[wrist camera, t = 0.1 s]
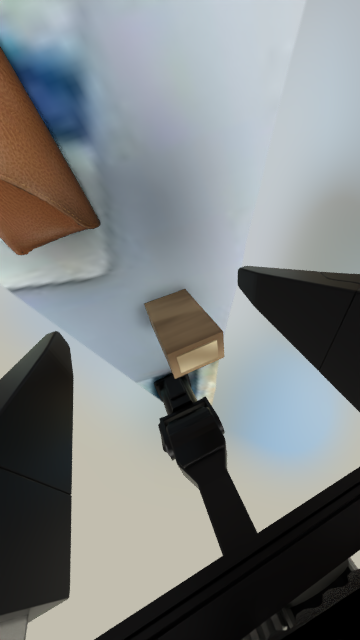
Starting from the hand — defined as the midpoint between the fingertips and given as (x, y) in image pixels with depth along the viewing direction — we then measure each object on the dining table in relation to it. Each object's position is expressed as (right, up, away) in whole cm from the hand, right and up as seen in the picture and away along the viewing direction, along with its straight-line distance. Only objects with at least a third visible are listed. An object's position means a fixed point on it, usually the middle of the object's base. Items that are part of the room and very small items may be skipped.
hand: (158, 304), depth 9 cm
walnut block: (-1, +1, +18) cm, 18 cm away
